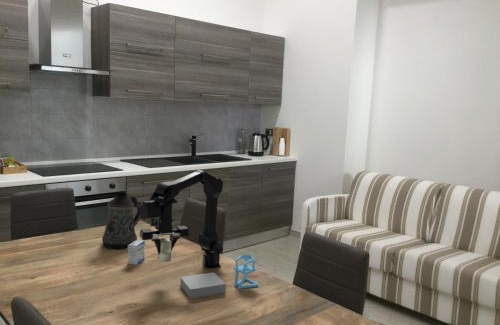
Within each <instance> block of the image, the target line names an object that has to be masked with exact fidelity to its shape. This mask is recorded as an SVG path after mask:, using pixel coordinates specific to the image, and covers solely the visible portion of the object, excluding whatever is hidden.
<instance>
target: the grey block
mask: <svg viewBox="0 0 500 325" xmlns="http://www.w3.org/2000/svg"><path fill="white" fill-rule="evenodd" d="M179 282H180V287H181V289H182V290H183V291H184V293H185V294H186V295H187V297H188V298H189V299H190V300H191V299H195V298H202V297H209V296H214V295H215V296H216V295H221V294H226V283H225V282H224V281H223V280H222V278H220V277H219V276H218V275H217V273H216V272H208V273H207V272H206V273H201V274H199V273H198V274H194V275H187V276H180V281H179Z"/></svg>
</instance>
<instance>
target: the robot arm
mask: <svg viewBox="0 0 500 325" xmlns="http://www.w3.org/2000/svg"><path fill="white" fill-rule="evenodd" d="M199 183H200V184H202V187H203V188H202V189H203V192H204V195H205V198H206V199H205V214H204V226H203V227H204V228H203V230H202V232H200V233H199V234H198V241H197V242H198V244H199V247H200V249H201V251H203V255H202V265H203V266H205V268H207V269H212V268H219V267H221V264H220V255H221V254H223V251H224V247H223V246H222V245H221V244H220V241H219V235H218V233H217V229H216V228H217V215H218V214H217V213H218V201H219V197H220V195H221V194H222V192H223V187H224V181H223V180H222V179H221V178H219V177H215V176H213V175H211V174H210V173H208V172H207V171H205V170H200V169H197V170H195V171H194V172H191V173H189V174H187V175H185V176H183V177H180V178H178V179H174V180H170V181H169V180H168V181H164V182H159V183H158V184H157V185H156V187H155V190H154V192H153V193H152V195H151V196H150V198H149V200H143V201H142V205H141V206H140V209H139V214H140V217H141V218H140V219H142V220H143V221H145V220H149V226H150V227H154V229H155V230H151V228H142V229H140V230H139V237H140V239H141V240H142V241H149V240H150V241H151V242H153V243H154V245H155V248H156V251H157V255H158V254H160V239H161V238H159V236H167V235H168V236H169V240H170V241H171V252H173V249H174V247H175V245H176V244H177V241H178V240H180V239H181V237H189V236H190V234H191V233H190V229H189V228H188V227H187V225H177V226H176V227H175V228H174V229H173V223H174V216H173V213H174V211H173V210H174V204H178V200H176V197H177V196H179V194H180V193H181V191H183V190H185V189H187V188H189V187H190V188H191V187H192V186H194V185H196V184H199Z"/></svg>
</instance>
